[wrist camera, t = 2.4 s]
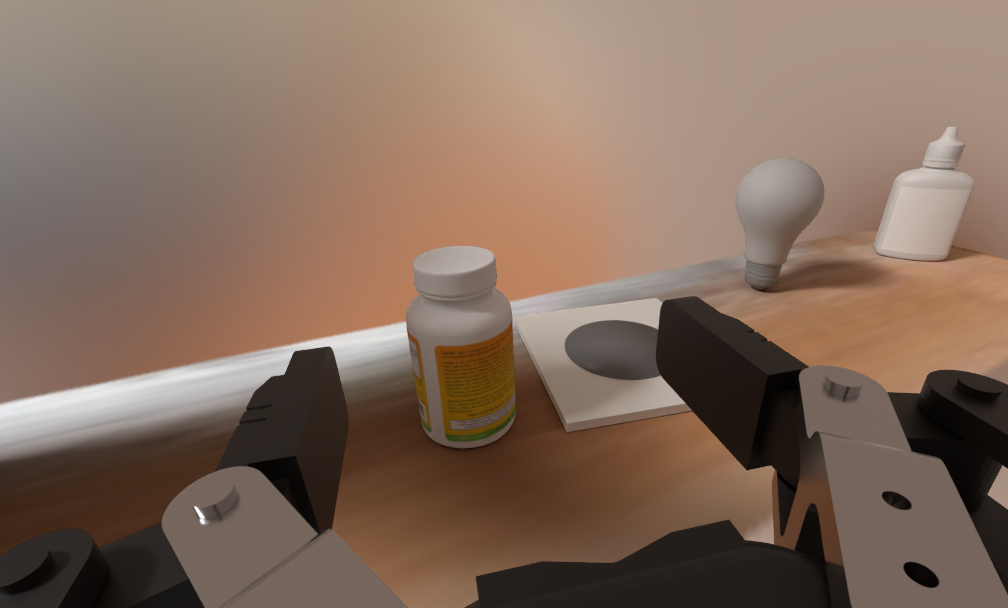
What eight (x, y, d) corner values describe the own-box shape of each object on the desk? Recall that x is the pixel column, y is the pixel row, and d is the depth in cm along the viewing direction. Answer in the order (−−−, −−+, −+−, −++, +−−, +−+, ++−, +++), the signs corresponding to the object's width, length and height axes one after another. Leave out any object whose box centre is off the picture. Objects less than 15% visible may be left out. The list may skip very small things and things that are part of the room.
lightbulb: (816, 300, 38) (854, 162, 33) (746, 306, 38) (775, 167, 33) (769, 272, 44) (796, 150, 39) (707, 278, 43) (727, 155, 38)
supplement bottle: (533, 406, 27) (530, 249, 23) (480, 466, 23) (466, 288, 19) (459, 380, 30) (445, 235, 26) (401, 430, 26) (373, 267, 22)
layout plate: (566, 432, 25) (566, 422, 25) (514, 323, 37) (514, 315, 36) (764, 398, 27) (766, 388, 27) (655, 304, 39) (656, 296, 38)
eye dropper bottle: (934, 268, 43) (987, 131, 38) (865, 252, 47) (904, 127, 42) (951, 257, 45) (1003, 126, 40) (883, 243, 50) (923, 123, 44)
